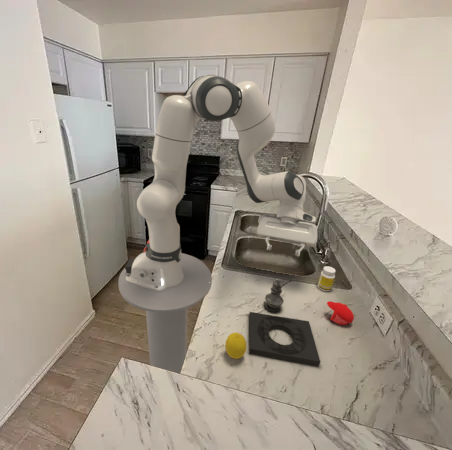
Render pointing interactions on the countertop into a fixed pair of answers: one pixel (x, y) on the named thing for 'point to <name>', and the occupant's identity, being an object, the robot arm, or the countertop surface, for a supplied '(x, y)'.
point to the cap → (341, 313)
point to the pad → (266, 346)
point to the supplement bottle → (326, 278)
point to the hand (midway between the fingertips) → (282, 253)
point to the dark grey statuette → (274, 297)
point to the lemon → (235, 345)
